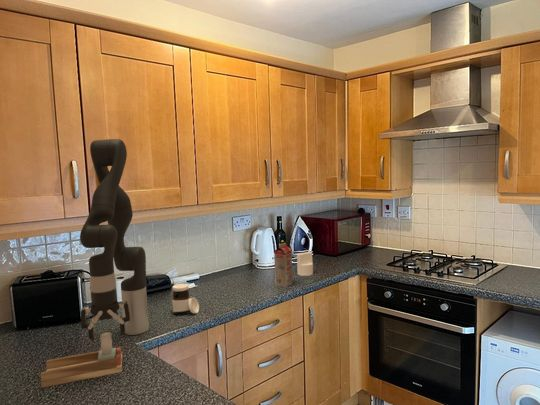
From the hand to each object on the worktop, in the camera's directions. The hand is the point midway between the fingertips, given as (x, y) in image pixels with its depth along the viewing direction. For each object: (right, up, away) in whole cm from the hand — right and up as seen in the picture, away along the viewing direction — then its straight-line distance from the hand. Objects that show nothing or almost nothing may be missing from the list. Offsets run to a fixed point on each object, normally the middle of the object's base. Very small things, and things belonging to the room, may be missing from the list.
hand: (107, 336), depth 124 cm
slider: (0, -8, 0) cm, 8 cm away
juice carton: (+59, -1, +83) cm, 102 cm away
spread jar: (+15, -6, +47) cm, 50 cm away
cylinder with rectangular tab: (+72, +1, +102) cm, 125 cm away
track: (-6, -10, -2) cm, 12 cm away
